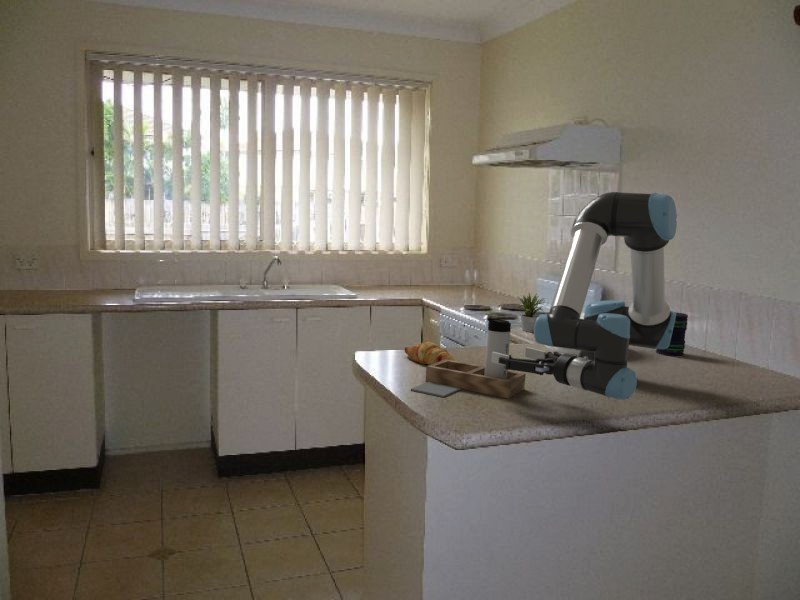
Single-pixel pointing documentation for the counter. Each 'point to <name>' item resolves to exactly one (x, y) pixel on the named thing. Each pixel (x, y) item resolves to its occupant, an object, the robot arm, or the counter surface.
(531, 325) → the house plant
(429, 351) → the croissant
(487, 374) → the travel mug
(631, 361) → the counter surface
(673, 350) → the storage jar
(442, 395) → the mat
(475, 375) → the wooden divided tray
